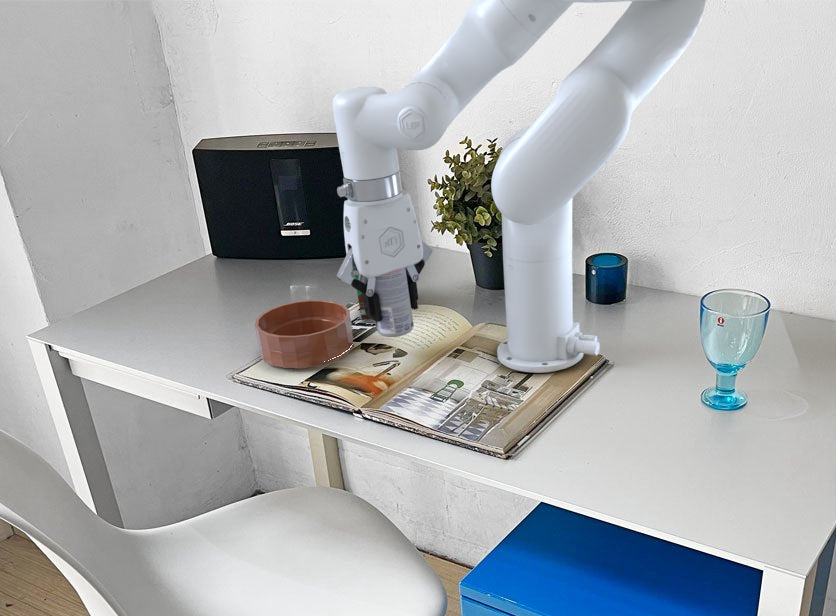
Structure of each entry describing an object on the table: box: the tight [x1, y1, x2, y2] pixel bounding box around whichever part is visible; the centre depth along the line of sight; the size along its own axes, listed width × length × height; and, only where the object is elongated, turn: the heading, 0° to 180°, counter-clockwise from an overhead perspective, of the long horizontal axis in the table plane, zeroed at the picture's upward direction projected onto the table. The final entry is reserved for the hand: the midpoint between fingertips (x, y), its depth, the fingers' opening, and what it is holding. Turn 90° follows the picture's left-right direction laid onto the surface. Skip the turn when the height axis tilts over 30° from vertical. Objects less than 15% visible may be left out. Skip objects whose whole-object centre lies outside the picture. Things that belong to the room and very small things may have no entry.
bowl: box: [254, 299, 355, 369], centre depth 148 cm, size 14×14×6 cm
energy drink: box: [374, 268, 415, 338], centre depth 141 cm, size 5×5×12 cm
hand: (393, 311), depth 142 cm, fingers closed on energy drink, 5 cm apart
